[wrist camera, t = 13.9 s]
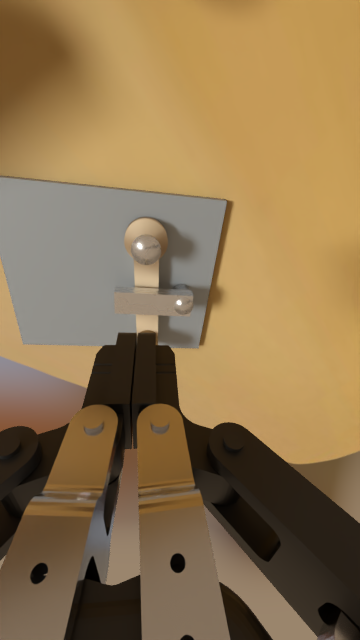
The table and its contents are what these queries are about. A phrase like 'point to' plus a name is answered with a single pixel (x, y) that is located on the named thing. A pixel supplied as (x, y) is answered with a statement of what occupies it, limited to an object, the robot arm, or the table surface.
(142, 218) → the link
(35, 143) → the table surface
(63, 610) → the robot arm
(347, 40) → the table surface
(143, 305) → the keeper
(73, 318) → the base plate
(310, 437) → the table surface
